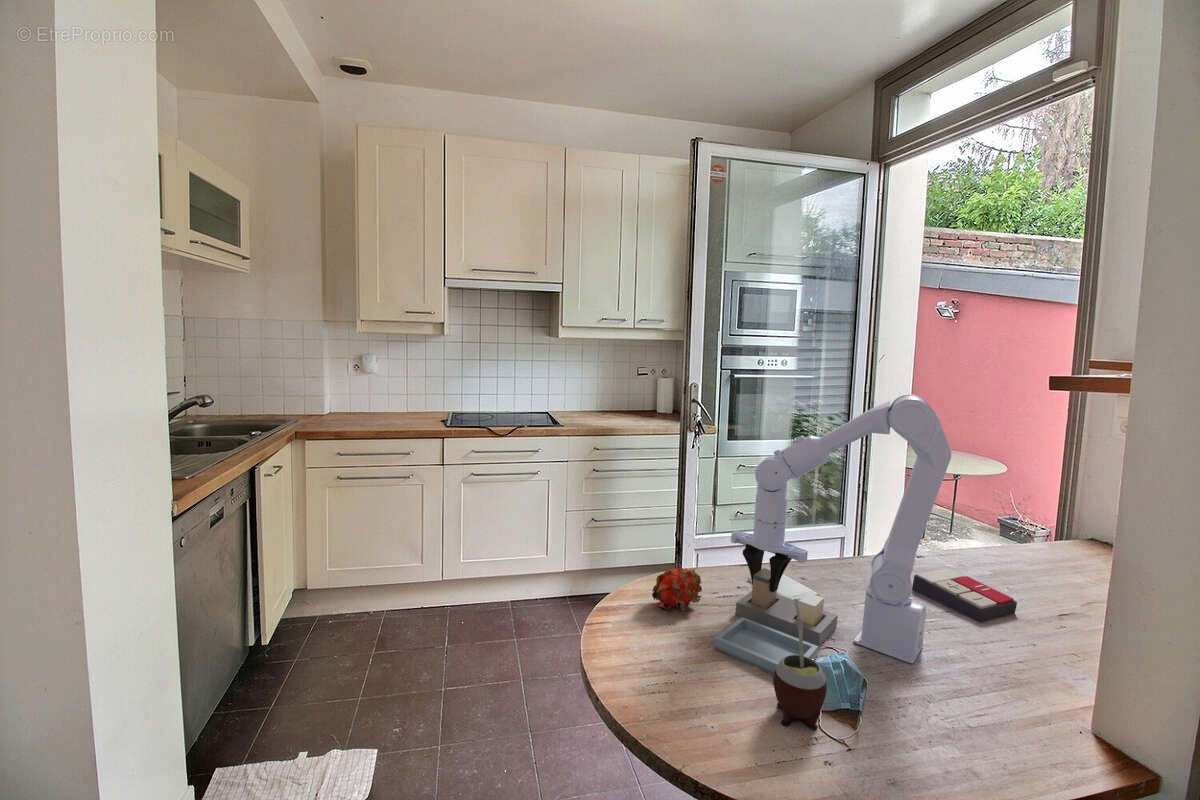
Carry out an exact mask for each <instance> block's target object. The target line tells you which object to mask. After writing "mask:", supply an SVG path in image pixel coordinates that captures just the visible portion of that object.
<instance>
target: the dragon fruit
mask: <svg viewBox="0 0 1200 800" xmlns="http://www.w3.org/2000/svg"><path fill="white" fill-rule="evenodd" d="M655 581H656V583H655V585H654V586H653V588H652V591H651V592H652V594H651V596H652V598H653V601H656V600H657V601H659V602H658V603H657V607H658V608H659V609H660V608H663V609H665V610H667V609H670V608H673V607H675V608H677V609H680V611H681V612H684V611H685V610H687V609H688V608H689V607H690V604H691V602H692V603H695V604H696V603H699V602H700V599H701V598H702V594H700V595H699V593H701V592H702V590H703V587H702V586H701V584H702V579H701V575H699V574H698V573H697V572H696V570H695V569H693V568H689V569H687V568H683V566H682V565H680V564H679V565H678V566H677V568H674V567H668V568H667V569H666V570H665V571H664V572H662V573H661V574H659V575H658V576H657V577H656V578H655Z"/></svg>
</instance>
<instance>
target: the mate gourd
mask: <svg viewBox="0 0 1200 800" xmlns="http://www.w3.org/2000/svg"><path fill="white" fill-rule="evenodd" d="M794 603H795V607H796V611H797V617H798V621H797V624H798V625H797V626H798V629H799V655H788V656H786V657H784V658H783V659H781V660H780V662H779V663H778V665H777V667H776V670H775V673H774V675H773V677H772V678H773V679H772V684H773V688H774V689H773V690H774V693H775V697H776V700H777V703H776V707H777V708H779V709H780V710H781V711H782V715H783V716H782V717H783V720H781V721H780V722H781V723H780V724H781V726H783V727H784V728H787V727H789V726H790V725H792V724H794V723H796V722H799V723H801V724H802V725H803V726H805V727H807V728H808V729H810V730H812V731H813V732H816V731H817V730H818V725H817V722H818V720H819V717H820V714H821V712H822V707H823V705H824V702H825V699H826V696H827V690H828V685H827V677H826V676H825V673H824V670H823V668H822V667H821V665H820V664H818V663H817V662H816V660H815V661H814V660H812V659H810V658H808V657H805V656H803V632H802V628H803V621H802V618H801V612H800V608H799V604H798V600H797V599H794Z"/></svg>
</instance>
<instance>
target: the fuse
mask: <svg viewBox="0 0 1200 800" xmlns="http://www.w3.org/2000/svg"><path fill="white" fill-rule="evenodd" d="M798 604H799V608H800V612H801V618H802V621H803V623H806V624H809V625H812V626H814V627H816V626H817V625H818V624H819V623H820V622H821V621H822V615H823V610H824V604H825V597H822V596H820V595H819V596H817V595H814V594H811V593H807V594H806V595H805V596H803V597H802V598H801V599H800V600H799V602H798ZM797 620H798V617H797Z"/></svg>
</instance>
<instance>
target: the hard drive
mask: <svg viewBox="0 0 1200 800" xmlns="http://www.w3.org/2000/svg"><path fill="white" fill-rule="evenodd" d="M747 581H748V582H750V583H751V584H752V579H751V575H749V576H748V577H747ZM807 593H811V594H814V595H817V596H820V594H819V593H818V592H816V591H814V590H812V589H810V588H809V587H807V586H805V585H803V584H802V583H799V582H798V581H796V580H794V579H792V578H790V577H789V576H786V575H785V574H783V575H782V577H781V579H780V582H779V586H778V589H777V594H778V595H781V596H784V597H787V598H790V599H792V600H794V599H797V600H798V602H799V600H800V599H801V598H802V597H803V596H805V595H806V594H807Z"/></svg>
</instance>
